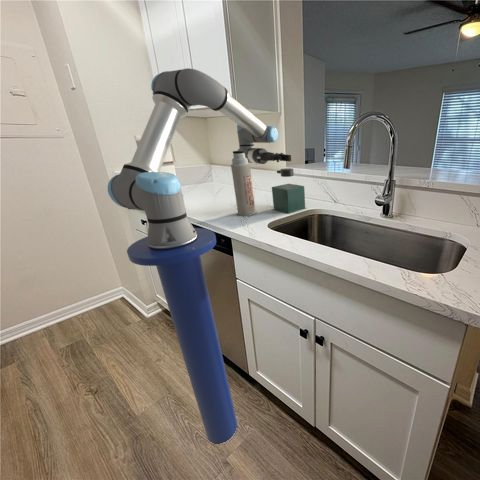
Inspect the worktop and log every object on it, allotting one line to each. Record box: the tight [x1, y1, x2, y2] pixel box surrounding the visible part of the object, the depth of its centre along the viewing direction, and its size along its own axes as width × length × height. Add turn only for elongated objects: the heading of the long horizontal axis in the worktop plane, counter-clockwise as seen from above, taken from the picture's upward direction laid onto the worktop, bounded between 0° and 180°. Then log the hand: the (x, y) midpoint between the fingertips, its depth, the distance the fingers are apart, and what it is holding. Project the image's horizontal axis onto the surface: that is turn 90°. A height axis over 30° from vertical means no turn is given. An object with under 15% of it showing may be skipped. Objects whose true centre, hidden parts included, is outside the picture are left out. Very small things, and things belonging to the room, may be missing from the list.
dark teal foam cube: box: [271, 183, 306, 214], centre depth 127 cm, size 13×11×11 cm
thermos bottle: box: [230, 150, 256, 217], centre depth 117 cm, size 8×8×28 cm
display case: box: [134, 135, 177, 176], centre depth 147 cm, size 11×11×35 cm
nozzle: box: [276, 167, 295, 178], centre depth 123 cm, size 10×6×3 cm, turn 49°
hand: (289, 158), depth 117 cm, fingers closed
